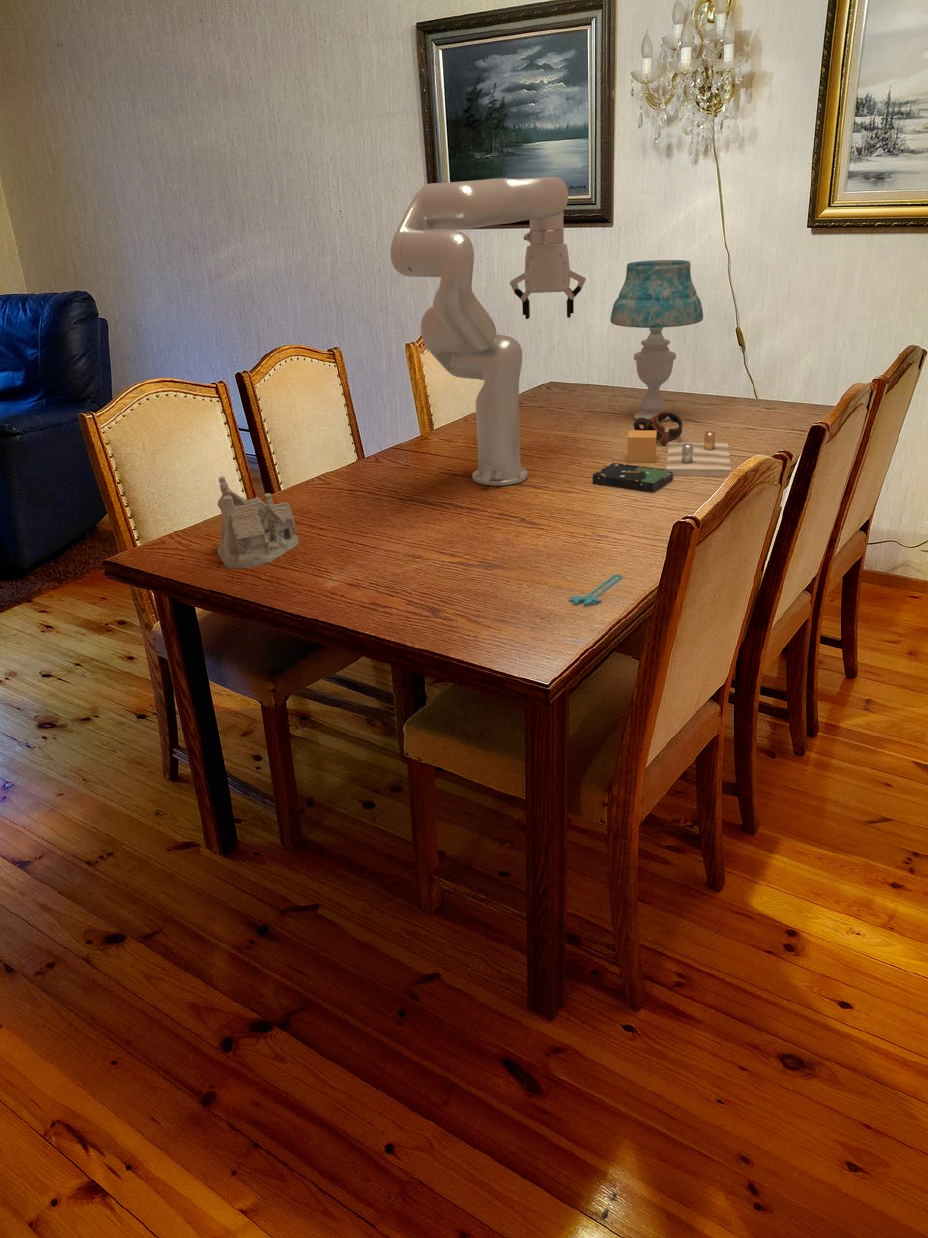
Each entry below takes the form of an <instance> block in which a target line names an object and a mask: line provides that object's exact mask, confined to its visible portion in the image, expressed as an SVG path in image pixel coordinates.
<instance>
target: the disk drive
mask: <svg viewBox="0 0 928 1238" xmlns="http://www.w3.org/2000/svg"><path fill="white" fill-rule="evenodd" d="M600 470H601V471H596V472H595V473H592V485H598V486H602V487H603V486H604V487H605V486H606V487H611V488H618V489H623V488H624V489H625V490H632V491H638V492H643V493H650V494H655V493H656V492H657V491H659V490H661V489H662V488H664V487H665V486H667V485H668V484H669V483H671V482H673V481H674V476H673V473H672V471H668V470H666V469H665V468H664V469H663V468H655V467H646V466H639V465H632V464H628V463H627V464H626V463H625V464H624V463H621V462H620V463H618V462H612V463H611V464H609V465H607V466H605V467H603V468H602V469H600ZM624 489H623V490H624Z"/></svg>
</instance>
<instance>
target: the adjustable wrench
mask: <svg viewBox="0 0 928 1238" xmlns="http://www.w3.org/2000/svg"><path fill="white" fill-rule="evenodd" d="M622 579H623V576H622V575H621V574H613V575H612V576H611V577H609V578H608V579H607V580H606V581H604V582H603V583H602V584H600V585H598V586H597V588H595V589H594V590H593V591H591V592H590V593H588V594H586V595H582V596H581V595H575V596H569V599H568V602H570V603H572V605H574V606H576V607H577V606H579V604H583V607H590V606H596V605H599V604H602V599H599V597H600V596H601V595H602V594H604V593H605V592H606V591H608V590H609V589H610V588H612V587H613V586H614V585H615V584H617V583H618V582H620V581H621V580H622ZM595 593H598V594H595ZM594 594H595V595H594Z"/></svg>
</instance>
